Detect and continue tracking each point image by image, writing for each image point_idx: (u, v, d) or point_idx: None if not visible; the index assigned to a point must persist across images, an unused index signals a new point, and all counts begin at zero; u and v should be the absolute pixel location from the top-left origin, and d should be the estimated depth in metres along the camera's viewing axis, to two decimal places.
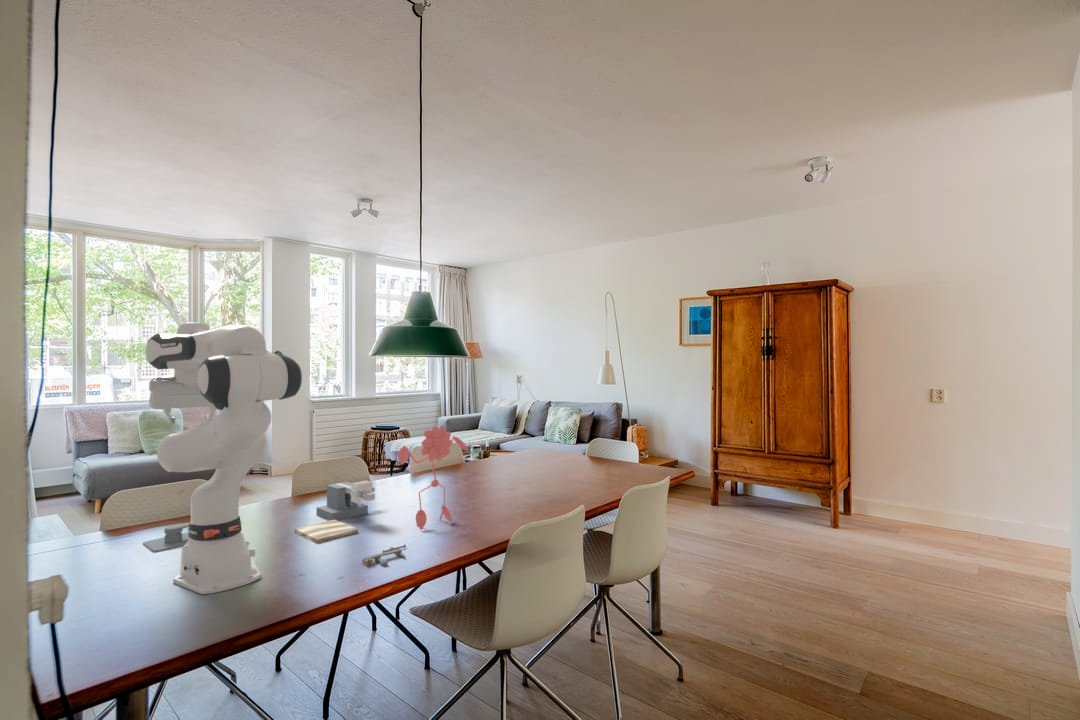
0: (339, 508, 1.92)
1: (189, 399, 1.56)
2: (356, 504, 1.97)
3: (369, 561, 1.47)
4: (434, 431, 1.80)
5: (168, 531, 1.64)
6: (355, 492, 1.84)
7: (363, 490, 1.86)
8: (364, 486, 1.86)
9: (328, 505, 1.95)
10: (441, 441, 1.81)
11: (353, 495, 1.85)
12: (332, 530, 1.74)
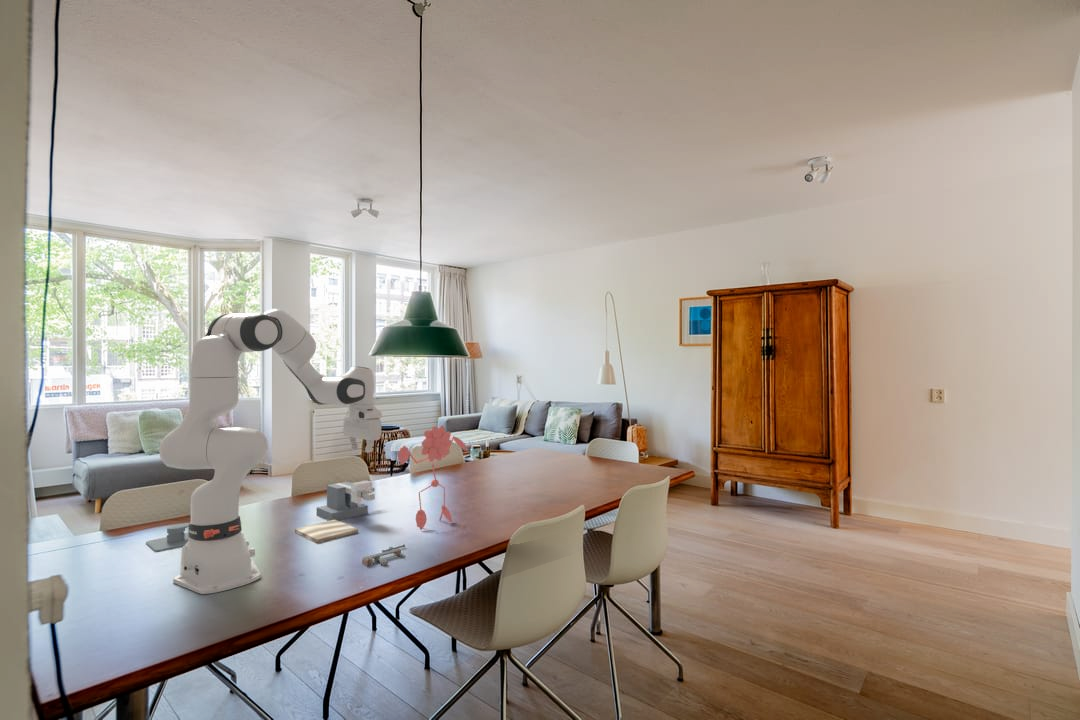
0: (339, 508, 1.92)
1: (355, 431, 1.87)
2: (356, 504, 1.97)
3: (369, 561, 1.47)
4: (434, 431, 1.80)
5: (170, 531, 1.64)
6: (355, 492, 1.84)
7: (363, 490, 1.86)
8: (364, 486, 1.86)
9: (328, 505, 1.95)
10: (441, 441, 1.81)
11: (353, 495, 1.85)
12: (332, 530, 1.74)
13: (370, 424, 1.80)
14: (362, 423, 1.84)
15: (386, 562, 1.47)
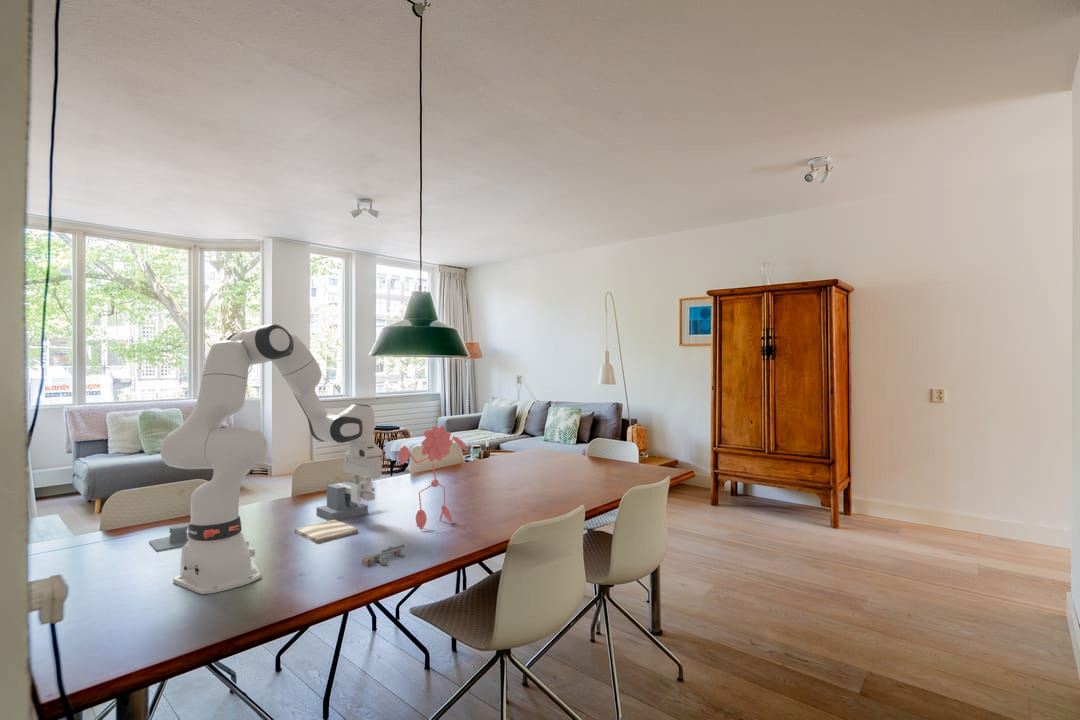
0: (339, 508, 1.92)
1: (355, 468, 1.87)
2: (356, 504, 1.97)
3: (369, 561, 1.47)
4: (434, 431, 1.80)
5: (173, 530, 1.64)
6: (355, 492, 1.84)
7: (363, 490, 1.86)
8: None
9: (328, 505, 1.95)
10: (441, 441, 1.81)
11: (353, 495, 1.85)
12: (332, 530, 1.74)
13: (370, 462, 1.80)
14: (362, 461, 1.83)
15: (386, 562, 1.47)
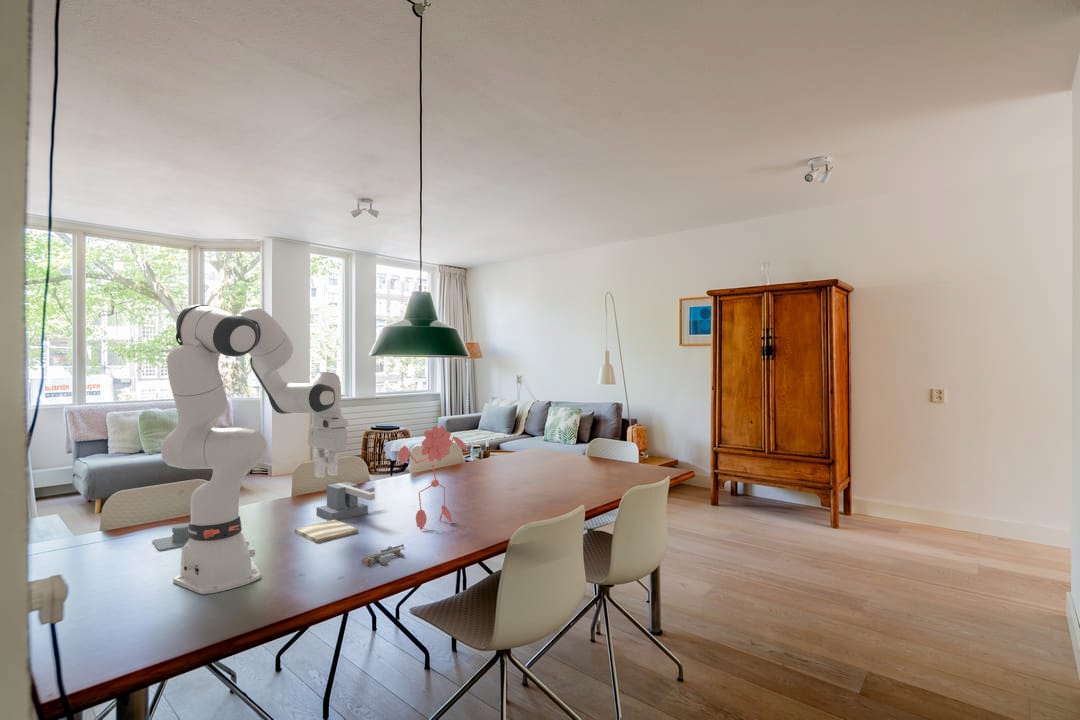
0: (339, 508, 1.92)
1: (320, 441, 1.75)
2: (356, 504, 1.97)
3: (369, 560, 1.47)
4: (434, 431, 1.80)
5: (175, 530, 1.65)
6: (319, 466, 1.73)
7: (327, 464, 1.74)
8: None
9: (328, 505, 1.95)
10: (441, 441, 1.81)
11: (317, 469, 1.74)
12: (332, 530, 1.74)
13: (334, 433, 1.68)
14: (327, 433, 1.72)
15: (386, 562, 1.47)
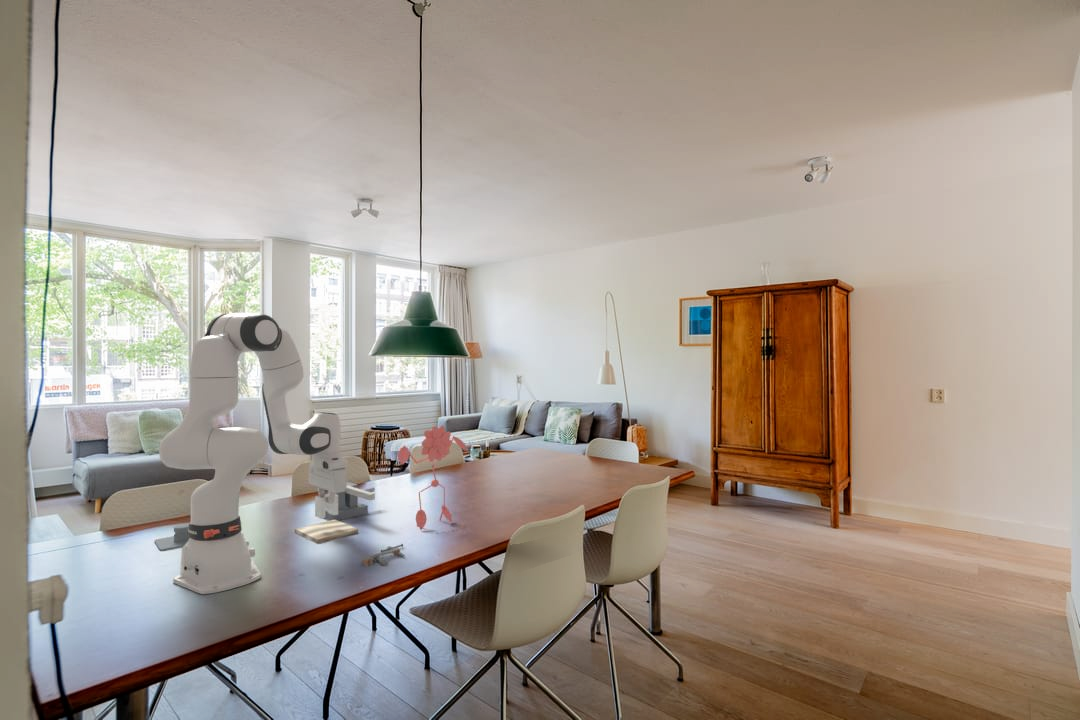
0: (339, 508, 1.92)
1: (320, 480, 1.75)
2: (356, 504, 1.97)
3: (369, 561, 1.47)
4: (434, 431, 1.80)
5: (177, 530, 1.65)
6: (319, 506, 1.73)
7: (328, 504, 1.74)
8: None
9: None
10: (441, 441, 1.81)
11: (317, 509, 1.74)
12: (332, 530, 1.74)
13: (334, 475, 1.68)
14: (327, 473, 1.72)
15: (386, 562, 1.47)
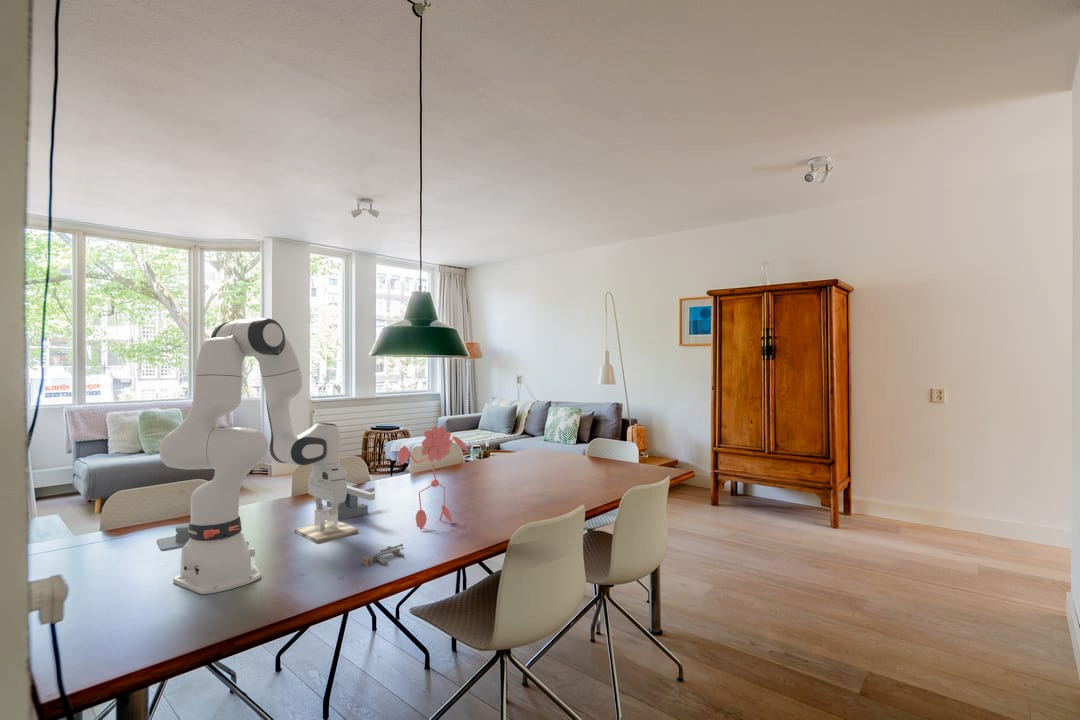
0: (339, 508, 1.92)
1: (320, 491, 1.75)
2: (356, 504, 1.97)
3: (369, 560, 1.47)
4: (434, 431, 1.80)
5: (178, 530, 1.65)
6: (319, 520, 1.72)
7: (327, 518, 1.74)
8: (328, 513, 1.74)
9: (328, 505, 1.95)
10: (441, 441, 1.81)
11: (317, 523, 1.73)
12: (332, 530, 1.74)
13: (334, 486, 1.68)
14: (326, 484, 1.72)
15: (386, 561, 1.47)
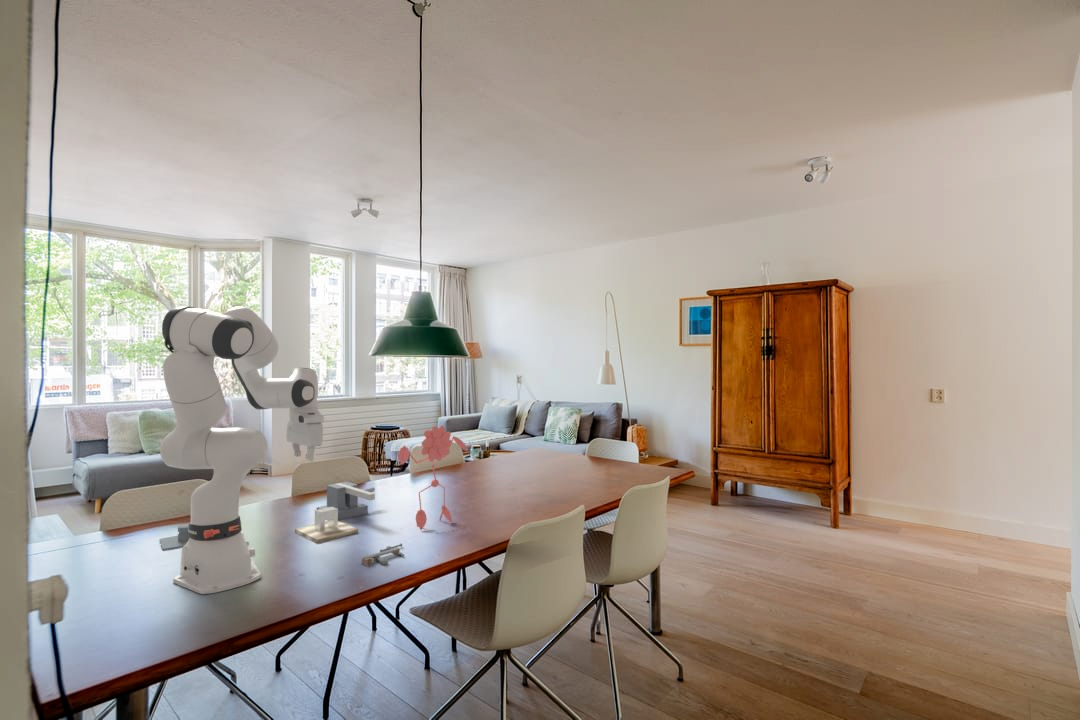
0: (339, 508, 1.92)
1: (297, 436, 1.75)
2: (356, 504, 1.97)
3: (369, 560, 1.47)
4: (434, 431, 1.80)
5: (180, 529, 1.65)
6: (319, 520, 1.72)
7: (327, 518, 1.74)
8: (328, 513, 1.74)
9: (328, 505, 1.95)
10: (441, 441, 1.81)
11: (317, 523, 1.73)
12: (332, 530, 1.74)
13: (310, 429, 1.68)
14: (303, 428, 1.72)
15: (386, 561, 1.47)
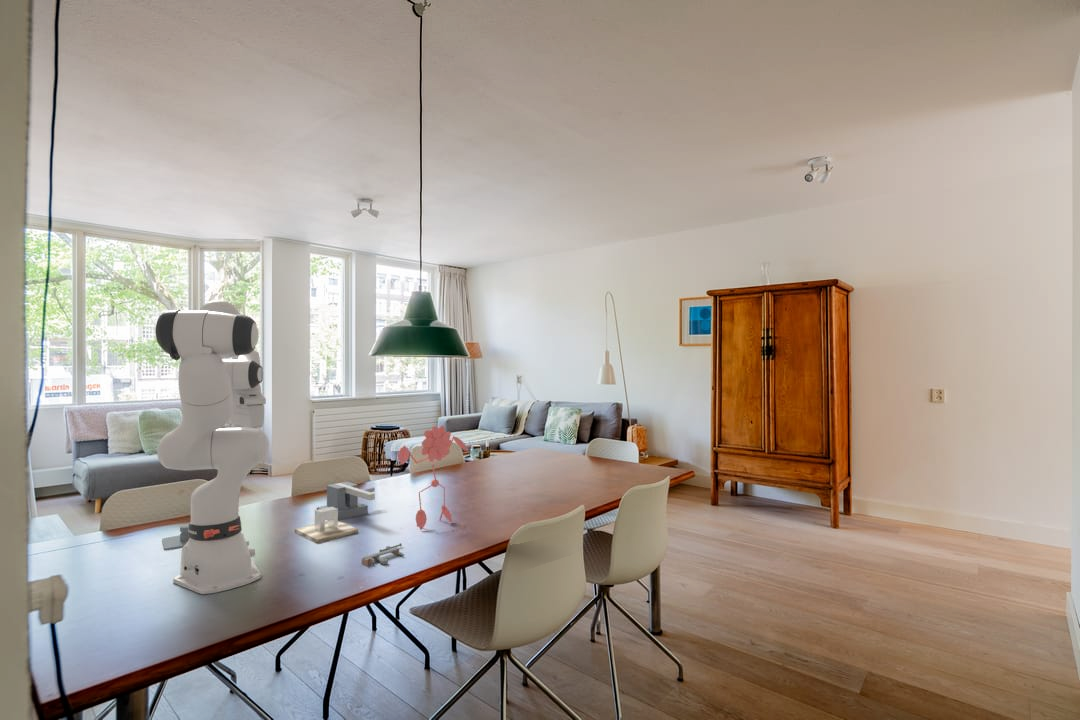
0: (339, 508, 1.92)
1: (239, 418, 1.75)
2: (356, 504, 1.97)
3: (369, 560, 1.47)
4: (434, 431, 1.80)
5: (182, 529, 1.66)
6: (319, 520, 1.72)
7: (327, 518, 1.74)
8: (328, 513, 1.74)
9: (328, 505, 1.95)
10: (441, 441, 1.81)
11: (317, 523, 1.73)
12: (332, 530, 1.74)
13: (250, 410, 1.68)
14: (244, 410, 1.72)
15: (386, 561, 1.47)
